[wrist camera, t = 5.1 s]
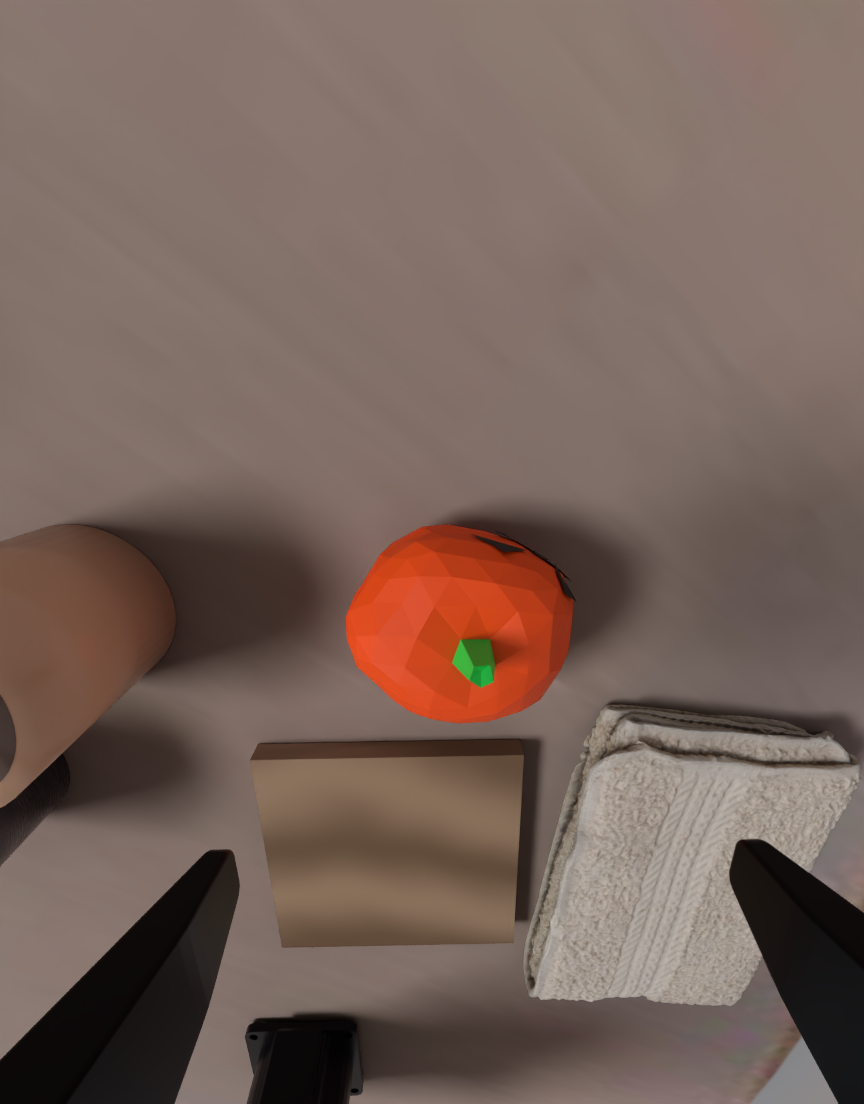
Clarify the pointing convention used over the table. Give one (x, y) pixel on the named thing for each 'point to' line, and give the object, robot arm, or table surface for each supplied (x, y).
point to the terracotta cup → (71, 639)
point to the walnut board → (391, 840)
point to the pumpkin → (461, 624)
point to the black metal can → (32, 806)
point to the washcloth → (674, 851)
